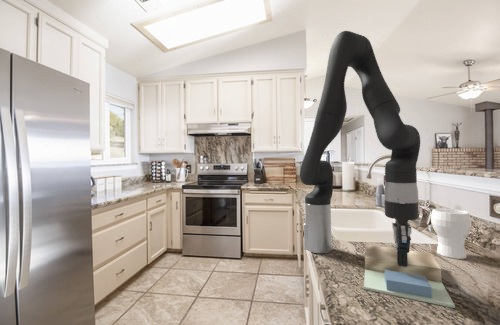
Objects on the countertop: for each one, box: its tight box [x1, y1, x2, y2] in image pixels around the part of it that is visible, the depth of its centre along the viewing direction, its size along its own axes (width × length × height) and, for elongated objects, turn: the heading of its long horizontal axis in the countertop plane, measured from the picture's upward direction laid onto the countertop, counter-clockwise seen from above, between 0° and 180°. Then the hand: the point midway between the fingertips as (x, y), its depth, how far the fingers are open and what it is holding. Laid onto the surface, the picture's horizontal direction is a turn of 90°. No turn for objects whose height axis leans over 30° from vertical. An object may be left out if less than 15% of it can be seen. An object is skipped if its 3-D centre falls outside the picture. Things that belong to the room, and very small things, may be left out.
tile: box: [385, 270, 432, 298], centre depth 59 cm, size 9×6×2 cm, turn 64°
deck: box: [364, 244, 442, 283], centre depth 71 cm, size 18×12×4 cm, turn 62°
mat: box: [363, 268, 456, 309], centre depth 60 cm, size 18×11×1 cm, turn 62°
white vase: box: [430, 208, 472, 260], centre depth 81 cm, size 11×11×15 cm
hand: (402, 265), depth 62 cm, fingers closed
